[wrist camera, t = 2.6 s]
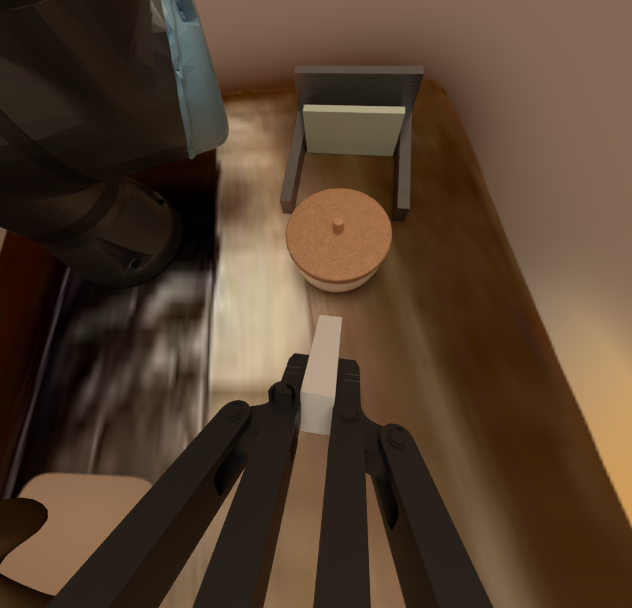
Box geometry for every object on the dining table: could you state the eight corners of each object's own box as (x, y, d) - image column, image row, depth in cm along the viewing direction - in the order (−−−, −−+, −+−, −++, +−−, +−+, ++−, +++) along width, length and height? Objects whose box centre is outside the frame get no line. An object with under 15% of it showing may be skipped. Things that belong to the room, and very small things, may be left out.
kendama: (80, 691, 21) (-64, 565, 24) (145, 568, 23) (7, 468, 26) (-12, 813, 15) (-187, 626, 18) (88, 633, 17) (-81, 495, 20)
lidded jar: (304, 226, 32) (294, 170, 23) (381, 234, 31) (401, 179, 22) (289, 297, 29) (270, 264, 20) (372, 309, 28) (391, 281, 19)
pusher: (307, 152, 36) (302, 111, 30) (308, 146, 36) (304, 104, 31) (392, 156, 35) (404, 113, 29) (393, 150, 35) (405, 106, 29)
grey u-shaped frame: (283, 212, 33) (271, 172, 26) (302, 119, 38) (295, 65, 31) (403, 221, 31) (423, 180, 25) (406, 122, 36) (423, 66, 30)
